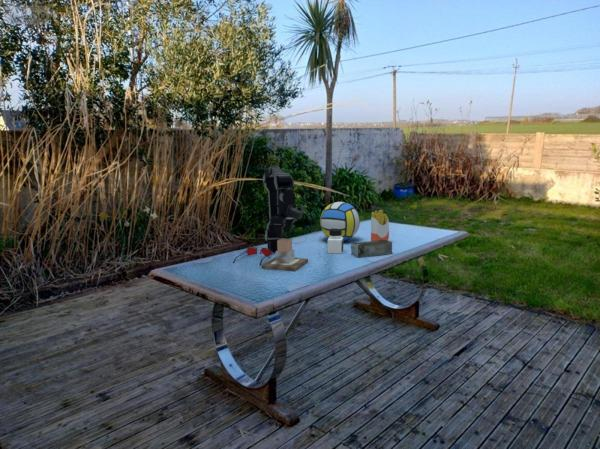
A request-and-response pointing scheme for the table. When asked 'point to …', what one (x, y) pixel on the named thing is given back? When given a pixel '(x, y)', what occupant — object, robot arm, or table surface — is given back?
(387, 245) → the beverage carton
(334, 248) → the medicine bottle
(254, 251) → the glasses
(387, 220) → the french fries container
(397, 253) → the table surface
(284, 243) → the terracotta block
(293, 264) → the base board
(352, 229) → the volleyball
